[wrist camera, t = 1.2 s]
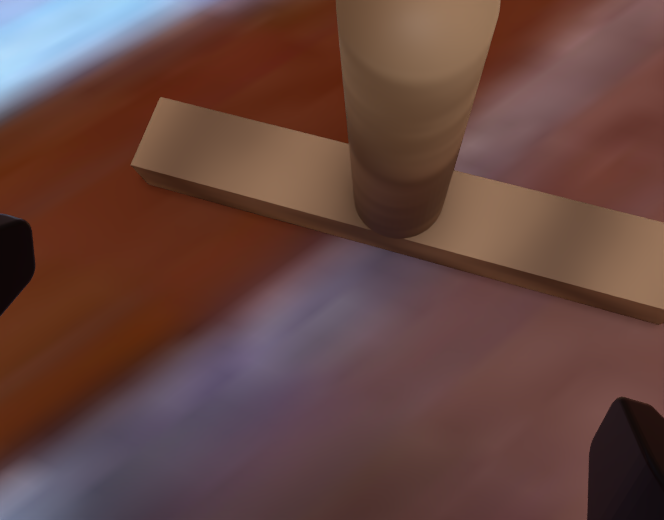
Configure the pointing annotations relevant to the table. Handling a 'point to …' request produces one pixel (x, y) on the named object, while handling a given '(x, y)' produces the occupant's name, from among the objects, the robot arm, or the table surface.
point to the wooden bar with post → (411, 167)
